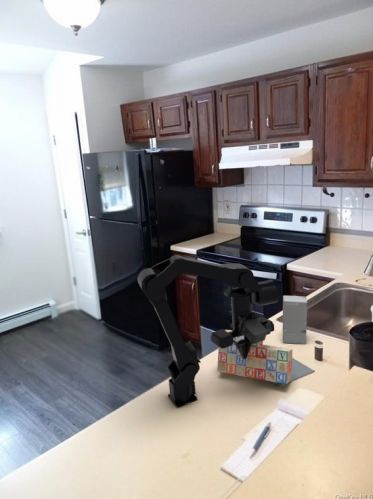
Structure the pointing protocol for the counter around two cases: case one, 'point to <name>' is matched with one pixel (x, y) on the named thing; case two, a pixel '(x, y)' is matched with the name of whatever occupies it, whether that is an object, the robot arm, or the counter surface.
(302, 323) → the skincare box
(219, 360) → the stack of blocks
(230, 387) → the counter surface
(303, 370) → the mat
